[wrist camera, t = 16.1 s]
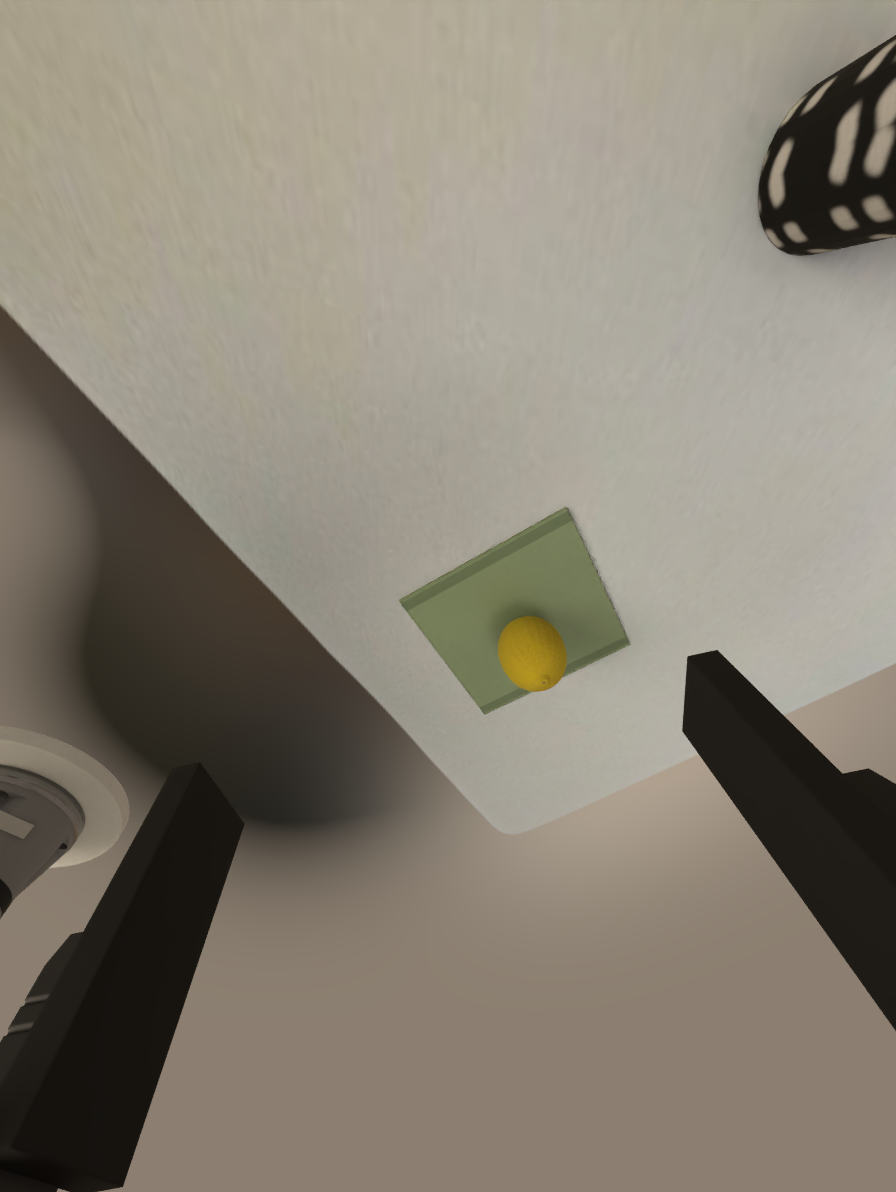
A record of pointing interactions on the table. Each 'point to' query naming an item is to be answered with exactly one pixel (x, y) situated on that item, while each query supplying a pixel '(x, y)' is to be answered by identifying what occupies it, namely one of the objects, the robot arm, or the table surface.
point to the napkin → (517, 607)
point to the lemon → (532, 653)
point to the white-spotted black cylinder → (835, 161)
